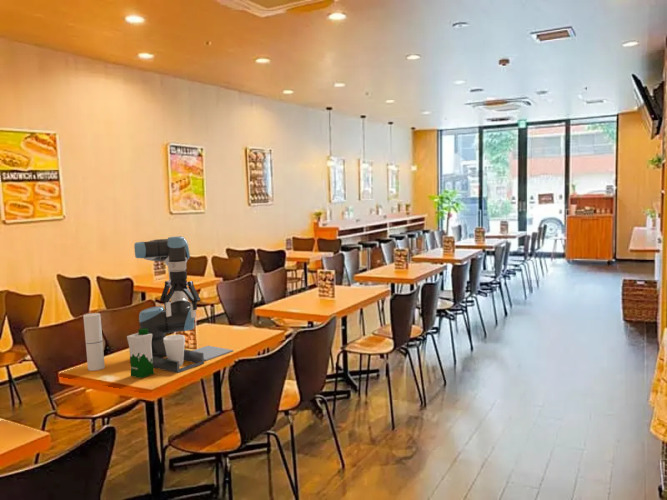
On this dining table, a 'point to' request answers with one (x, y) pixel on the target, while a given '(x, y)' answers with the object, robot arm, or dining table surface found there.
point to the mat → (212, 352)
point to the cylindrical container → (94, 341)
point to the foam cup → (175, 347)
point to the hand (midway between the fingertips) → (181, 316)
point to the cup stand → (174, 365)
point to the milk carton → (141, 353)
